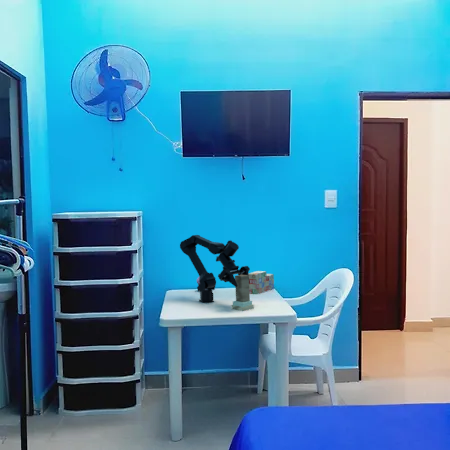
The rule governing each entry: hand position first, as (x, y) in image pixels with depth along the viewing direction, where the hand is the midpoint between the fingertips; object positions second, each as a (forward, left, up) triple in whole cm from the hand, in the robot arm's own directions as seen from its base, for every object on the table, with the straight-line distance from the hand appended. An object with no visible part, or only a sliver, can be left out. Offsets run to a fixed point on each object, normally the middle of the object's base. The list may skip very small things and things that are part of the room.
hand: (243, 285), depth 237 cm
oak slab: (0, +1, -13) cm, 13 cm away
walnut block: (0, +1, -8) cm, 8 cm away
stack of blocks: (+31, +39, -12) cm, 51 cm away
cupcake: (0, +56, -12) cm, 57 cm away
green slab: (0, +1, -10) cm, 10 cm away
